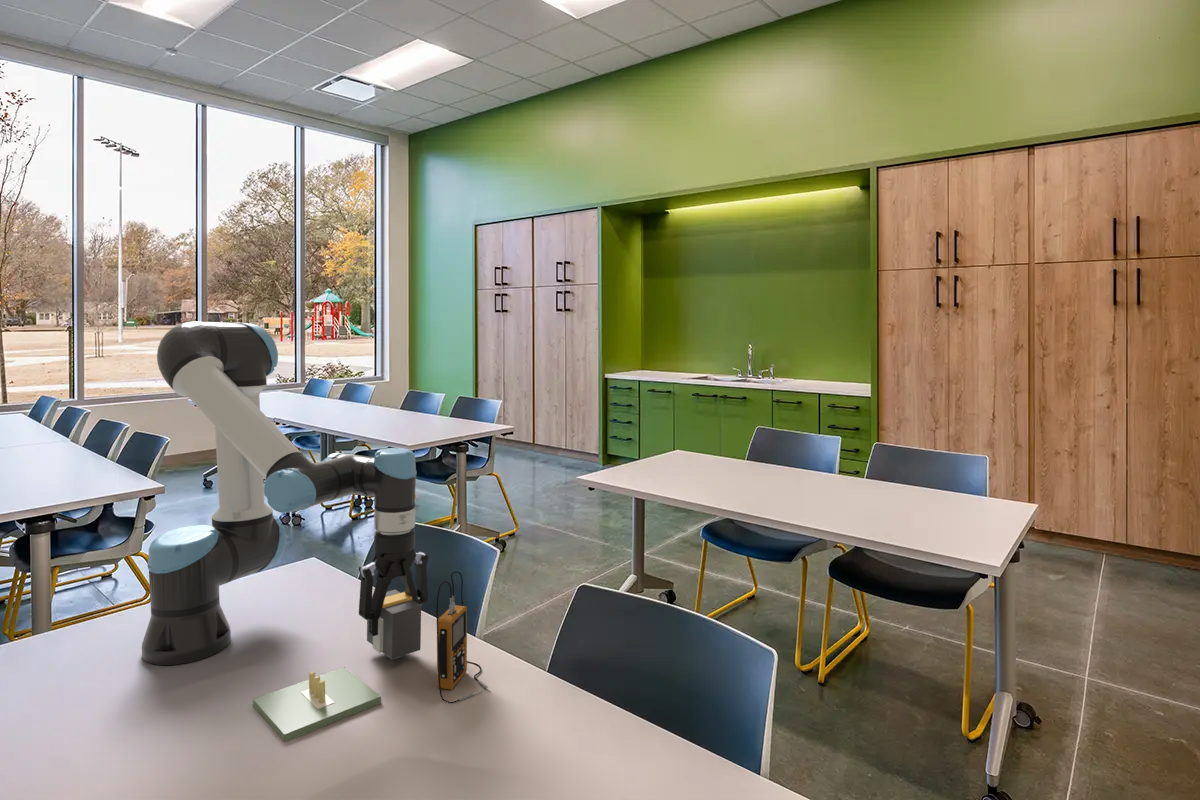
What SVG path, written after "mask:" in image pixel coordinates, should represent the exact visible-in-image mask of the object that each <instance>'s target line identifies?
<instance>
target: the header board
mask: <svg viewBox="0 0 1200 800" xmlns="http://www.w3.org/2000/svg"><path fill="white" fill-rule="evenodd" d="M379 704H382V695H380V694H379V693H377V692H376V691H375V690H374V689H373V688H371V687H370V686H369V685H368V684H366V683H365V682H364V681H362V679H360V678H359V677H358V676H357V675H356V674H354V673H352V672H351V671H350V670H349V669H348V668H347V667H345V666H344V667H341V668H337V669H336V670H332V671H329V672H326V673H323V674H321V675H316V672H315V671H310V672H308V679H306V680H303V681H300V682H297V683H295V684H292V685H289V686H286V687H283V688H280V689H278V690H275V691H271V692H269V693H266V694H263V695H261V696H258V697H255V698H252V706H253V708H255V710H256V711H257V712H258V713H259V715H261V717H262V718H263V719H264V721H266V723H268V724H269V726H270V727H271V728H272V730H273V731H275V732H276V734H277V735H278V736H279V737H280V738H281V739H282V740H283V742H287V741H290V740H293V739H295V738H297V737H300V736H302V735H305V734H307V733H310V732H313V731H314V730H318V729H320V728H322V727H325V726H328V725H330V724H332V723H335V722H337V721H340V720H342V719H345V718H347V717H350V716H352V715H354V714H357V713H359V712H362V711H364V710H367V709H370V708H372V707H374V706H377V705H379Z"/></svg>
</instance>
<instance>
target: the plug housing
mask: <svg viewBox="0 0 1200 800" xmlns="http://www.w3.org/2000/svg"><path fill="white" fill-rule="evenodd" d="M372 597H373V595H372ZM421 605H422V604H421ZM421 605H420V604H418V603H416V602H415V601H413V600H412V597H411V596H410V595H408V594H406V593H405V591H403V592H400V591H398V590H397V589H393V590H392V589H391V590H387V593H386V596H385V600H384V603H383V607H382V610H381V614H380V617H381V618H383V652H381V653H382V654H383V655H384V656H386V657H387V658H389V659H390V660H392V661H393V660H395V659H398V658H402V657H404V656H408V655H410V654H413V653H416V652H418V651H419V652H420V651H421V644H422V643H421V638H422V636H421V635H422V633H421V632H422V607H421ZM366 641H367V642H368V643H369V644H370V645H372V646H373V636H372V635H371V634H370V633H369V619H368V620H366Z"/></svg>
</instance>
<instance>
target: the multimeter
mask: <svg viewBox="0 0 1200 800" xmlns="http://www.w3.org/2000/svg"><path fill="white" fill-rule="evenodd" d="M455 573H456V574H458V575H459V576H460V578H461V579H460V581H461V582H460V583H461V585H460V601H461V605H456V603H455V593H454V592H455V585H454V584H455V583H454V581H453V580H454V579H453V574H455ZM450 580H451V583H450V582H449V581H447V580H444V581H442V582H441V583H440V585H439V587H438V590H437V594H436V596H437V597H436V613H435V614H436V672H437V673H436V675H437V676H436V677H437V682H436V683H437V689H439V695H440V698H441V700H442V701H443V702H445V703H446V704H447V703H448V704H454V703H457V702H459V701H460V702H461V701H463V700H467V699H468V698H471V697H474V695H476V694H478V693H481V692H482V689H481V690H478V691H475V692H470V693H469V694H466V695H464V696H462V697H460V698H458V699H456V700H453V701H448V700H446V699H444V697H443V693H442V690H449V691H452V690H453V689H454V688H455V686H456V685H457V684H458V683H459V682H460V680H461V679H462V678H463V676H465V675H466V673H467V671H468V669H467V668H468V667H467V666H468V665H467V663H468V664H472V665H474V666H477V667H478V668H479V671H478V672H477V673H475V674H474V676H473V679H474V680H475V681H477V682H478V684H480V686H482V687H483V688H484V690H488V691H489V692H490V693H492V690H490V689H489V688H488V686H487V685H486V684H485V683H484V682H482V681H481V680H479V679H478V678H477V677H476V676H478V675H479V674H481V672H482V666H481V665H480V664H478V663H475V662H472V661H469V660H468V657H467V655H468V650H467V648H468V642H467V641H468V627H467V626H468V625H467V624H468V620H467V619H468V617H467V612H468V611H467V610H468V609H467V608H468V607H467V606H464V600H463V599H464V598H463V587H464V586H463V585H464V584H463V574H462V572H460V571H452V572H451V574H450ZM444 584H448V586H449V591H450V593H449V605H448V609H447V610H446V611H445V612H444V613H443V614H442V615H441V616H439V596H440V591H441V587H442V586H443V585H444ZM451 584H452V585H451Z"/></svg>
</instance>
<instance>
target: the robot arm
mask: <svg viewBox="0 0 1200 800" xmlns="http://www.w3.org/2000/svg"><path fill="white" fill-rule="evenodd" d="M156 359H157V360H156V361H157V366H158V370H159V372H160V374H161V376H162V378H163V380H164V381H165V382H166V384H168V386H169V387H170V388H171V389H172V390H173V392H175V393H176V395H179V396H180V397H184V398H187V397H188V399H189V400H190V401H191V402H192V403H193V404H194V405H195V406H196V407H197V409H199V411H201V412H202V414H204V416H205V417H206V418H207V419H208V420H209V422H211V423H212V424H213V426H215V427H214V430H215V447H216V450H215V451H216V453H215V454H216V468H217V484H218V485H217V486H218V502H219V503H218V505H219V506H218V509H217V510H216V511H215V512H214V513H213V514H212V515H211V525H209V524H193V525H190V526H187V527H186V526H183V527H178V528H174V529H172V530H169V531H167V532H165V533H163V534H161V535H159V536H158V537H156V538H155V539H154V540H153V541H152V542H151V543H150V545H149V547H148V558H147V559H148V560H147V564H146V565H147V570H148V577H149V578H148V579H149V580H148V581H149V583H148V584H149V599H150V600H149V602H150V619H149V621H148V625H147V627H146V631H145V634H144V637H143V640H142V643H141V658H142V659H143V661H144V662H146V663H148V664H151V665H158V666H173V665H182V664H186V663H187V664H188V663H192V662H195V661H199V660H200V661H201V660H203V659H206V658H208V657H212V656H213V655H216V654H217V653H219V652H221V651H222V650H224V649H226V648H227V646H228V645H230V643H231V641H232V637H231V636H232V632H231V626H230V625H229V622H228V620H227V618H226V615H225V613H224V610H223V608H222V606H221V603H220V602H221V601H220V587H221V586H223V585H225V584H229V583H231V582H233V581H236V580H239V579H241V578H244V577H247V576H249V575H252V574H255V573H256V574H257V573H260V572H262V571H263V570H265V569H266V568H270V567H271V566H273V565H274V564H276V563H277V562H278V560H280V559H281V557H282V555H283V554H284V551H285V548H286V546H287V545H286V544H287V533H286V529H285V526H284V525H282V521H281V520H280V519H279V517H278V516H276V515H274V514H273V510H274V511H276V512H278V513H281V514H283V513H284V514H287V513H292V512H298V511H303V510H306V509H309V508H311V507H314V506H316V505H320V504H323V503H326V502H327V503H328V502H331V501H335V500H338V499H342V498H344V497H348V496H351V495H360V496H367V497H374V499H373V500H374V503H373V504H374V510H373V511H374V513H373V514H374V515H373V517H374V519H373V520H374V524H373V527H374V529H375V530H376V531H374V533H373V535H374V537H373V540H374V541H373V543H374V544H373V545H374V546H373V549H374V550H373V551H374V556H373V559H372V561H371V562H370V563H369V564H367V565H362V564H361V565H360V566H358V571H359V576H360V586H359V587H360V589H359V601H358V603H359V604H358V615H359V616H360V617H361V618H363V619H364V620H366V621H367V620H368V619H369V633H370V634H371V635H372V636H373V645H372V649H374V650H375V651H376V652H378V653H379V654H380V653H382V652H383V618H381V617H380V614H381V610H382V607H383V603H384V600H385V596H386V593H387V592H388V589H389V586H390V585H391V584H392V581H393V579H395V578H397V577H400V580H401V584H402V588H403V590H404V591H403V592H405V593H406V594H408V595H410V596H411V597H412V600H413V601H415V602H416V603H418V604H420V605H421V608H422V607H423V605H422V604H425V603H427V602H428V601H429V595H428V593H429V592H428V576H427V573H428V572H427V565H428V561H429V557H430V556H429V555H428V554H427V553H425V552H422V551H418V552H416V551H415V547H416V531H415V529H414V528H415V527H416V500H415V499H416V483H417V480H416V479H417V474H418V473H417V469H416V468H417V466H416V455H415V453H414V452H413V450H411V449H408V448H402V447H387V448H381V449H378V450H377V451H376V452H375V454H374V457H373V456H367V455H360V454H354V453H351V452H334V453H331V454H329V455H328V456H327V457H326V458H324V459H323V460H321V461H317V462H311V460H309V459H308V457H306V456H305V455H304V454H303V453H302V452H301V451H300V450H299V449H298V448H297V447H296V445H294V443H292V442H291V440H289V439H288V437H287V436H286V435H285V434H284V433H283V432H282V431H281V430H280V429H279V428H278V427H277V426H276V425H275V424H274V423H273V422H272V421H271V420H270V419H269V417H268V416H267V415H266V414H264V413H263V411H262V410H261V405H260V394H261V393H262V391H264V389H265V388H267V386H268V384H267V377H269V375H270V376H271V374H272V373H274V371H275V368H276V367H277V365H278V362H279V361H278V360H279V352H278V349H277V344H276V342H275V340H274V339H273V337H272V335H271V334H270V333H268V331H267V330H266V329H265V328H263V327H262V326H260V325H257V324H255V323H254V324H253V323H246V322H240V321H237V322H225V321H223V322H222V321H221V322H220V321H219V322H215V321H213V322H212V321H211V322H210V321H188V322H183V323H180V324H178V325H176V326H174V327H172V328H171V329H170V330H168V331H167V332H166V333H165V335H163V337H162V338H161V340H160V342H159V345H158V347H157V353H156ZM264 480H265V482H264ZM265 497H266V499H267V501H266V502H267V504H266V502H265ZM413 563H414V576H415V577H414V578H415V584H414V580H413V574H412V571H411V567H412V565H413ZM375 570H377V574H376V583H375V587H374V575H375ZM373 587H374V590H373ZM372 596H373V597H372Z"/></svg>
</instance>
